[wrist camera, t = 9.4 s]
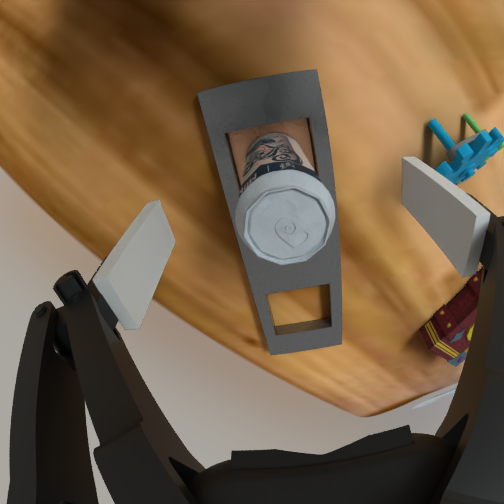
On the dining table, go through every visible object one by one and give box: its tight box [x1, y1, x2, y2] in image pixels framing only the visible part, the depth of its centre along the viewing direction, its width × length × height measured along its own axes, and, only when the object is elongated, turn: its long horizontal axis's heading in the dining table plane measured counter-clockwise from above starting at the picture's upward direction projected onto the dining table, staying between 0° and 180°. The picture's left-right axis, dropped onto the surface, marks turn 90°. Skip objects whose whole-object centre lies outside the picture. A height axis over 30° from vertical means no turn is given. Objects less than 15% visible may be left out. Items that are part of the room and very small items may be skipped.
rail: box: [197, 69, 342, 355], centre depth 26 cm, size 30×9×2 cm, turn 12°
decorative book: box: [420, 267, 484, 367], centre depth 30 cm, size 11×16×5 cm
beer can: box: [235, 133, 335, 265], centre depth 18 cm, size 5×5×12 cm
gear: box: [428, 113, 504, 185], centre depth 19 cm, size 11×6×10 cm
